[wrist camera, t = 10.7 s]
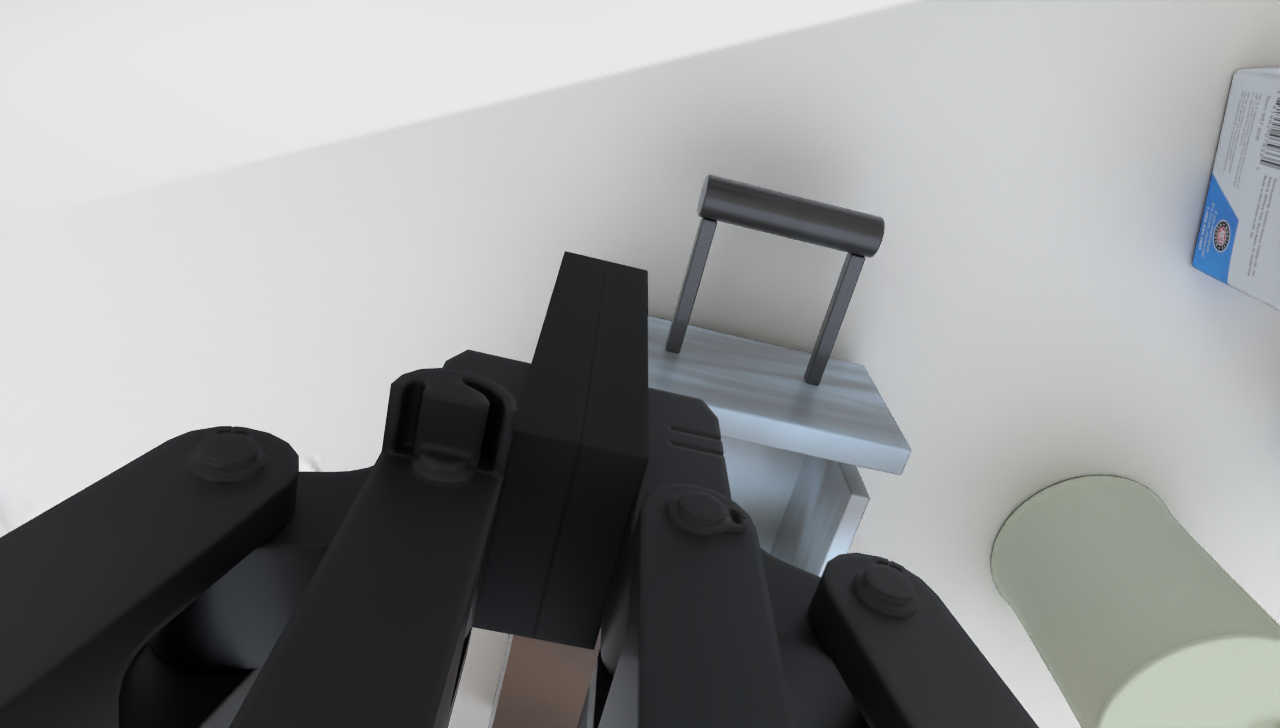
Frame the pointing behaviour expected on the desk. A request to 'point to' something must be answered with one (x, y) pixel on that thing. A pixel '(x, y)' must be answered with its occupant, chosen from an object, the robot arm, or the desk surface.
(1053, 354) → the desk surface
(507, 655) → the cabinet
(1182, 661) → the can
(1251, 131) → the ink box
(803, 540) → the drawer
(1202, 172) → the desk surface
